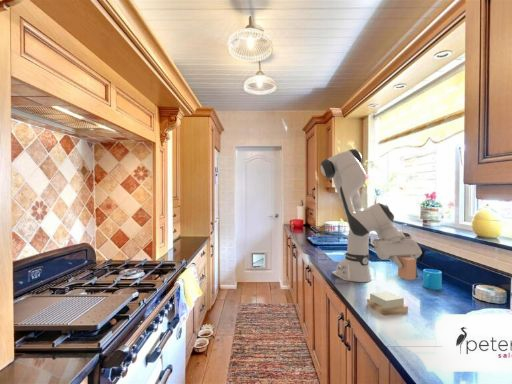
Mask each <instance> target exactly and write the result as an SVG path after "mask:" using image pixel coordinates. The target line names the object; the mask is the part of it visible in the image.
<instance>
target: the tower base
mask: <svg viewBox="0 0 512 384" xmlns="http://www.w3.org/2000/svg"><path fill="white" fill-rule="evenodd" d="M366 302H367V303H366V304H367V305H366V306H368V307H370V308H371V309H373V310H375V311H376V312H378V313H379V314H381V315H384V316H389V315H398V314H399V315H400V314H408V313H409V306H407V305H405V304H404V306H398V307H392V308H384V307H382V306H380V305H378V304H376V303H374V302H372V301H370V298H367V299H366Z"/></svg>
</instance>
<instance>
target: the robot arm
mask: <svg viewBox="0 0 512 384" xmlns="http://www.w3.org/2000/svg"><path fill="white" fill-rule="evenodd" d="M320 172H321V174H322V175H323V177H325V178H326V179H332V180H333V184H334V187H335V189H336V192H337V195H338V198H339V200H340V203H341V207H342V212H343V214H344V217H345V220H346V222H347V224H348V227H349V230H348V236H347V249H346V250H347V251H346V252H345V253H344V254H343V255H344V256H345V257H344V259H342V260H341V261H339V262H338V263H337V265H336V269H335V270H334V271H332V274H333V275H335V277H338V278H339V279H341V280H343V281H346V282H354V283H355V282H358V283H366V282H371V281H372V274H371V269H370V253H369V240H370V233H371V232H373V231H374V232H376V234H377V238H378V239H377V238H374V239H373V240H372V244H373V247H374V249H375V252H376V255H377V258H378V259H380V260H381V261H382V260H384V261H385V260H386V261H387V260H391V261H392V262H393V263H394V264H395V265H396V266H397V267H399V268H403V267H404V264H403V262H400V261H399V260H398V259H399V257H410V258H417V259H418V258H420V257H421V254H422V251H421V249H420V248H421V247H420V246H419V244H418V243H417V241H416V240H414V239H413V235H412V234H411V233H409V232H405V231H402V230H400V229H398V227H396V226H395V224H394V219H395V215H394V214H393V213H392V211H391V210H390V208H389V206H388V205H387V204H386V203H383V202H377V203H374V204H373V205H370V206H369V207H367V208H365V209H364V207H363V203H362V198H361V197H362V196H361V193H360V190H361V188H362V187H363V185H365V182H366V179H367V174H366V171H365V169H364V168H363V157H362V154H361V153H360V151H359V150H357V149H355V148H354V149H348V150H346V151H343V152H340V153H337V154H335V155H332V156H330V157H328V158H326V159H324V160H322V161H321V162H320Z"/></svg>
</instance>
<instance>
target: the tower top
mask: <svg viewBox="0 0 512 384" xmlns="http://www.w3.org/2000/svg"><path fill="white" fill-rule="evenodd" d="M369 299H370V301H372V302H374V303H376V304H378V305H380V306H382V307H384V308H392V307H398V306H404V305H405V304H404V302H405V301H404V300H405V299H404V297H401V296H400V295H396V294H394V293H393V292H390V291H387V290H385V291H378V292H377V291H376V292H371V293H369Z"/></svg>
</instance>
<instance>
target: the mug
mask: <svg viewBox="0 0 512 384" xmlns="http://www.w3.org/2000/svg"><path fill="white" fill-rule="evenodd" d="M442 273H443V272H442V271H441V270H438V269H431V268H424V269H422V286H423V287H424V288H426V289H429V290H436V291H437V290H442V288H443V287H442V284H443V283H442V280H443V275H442Z"/></svg>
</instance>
